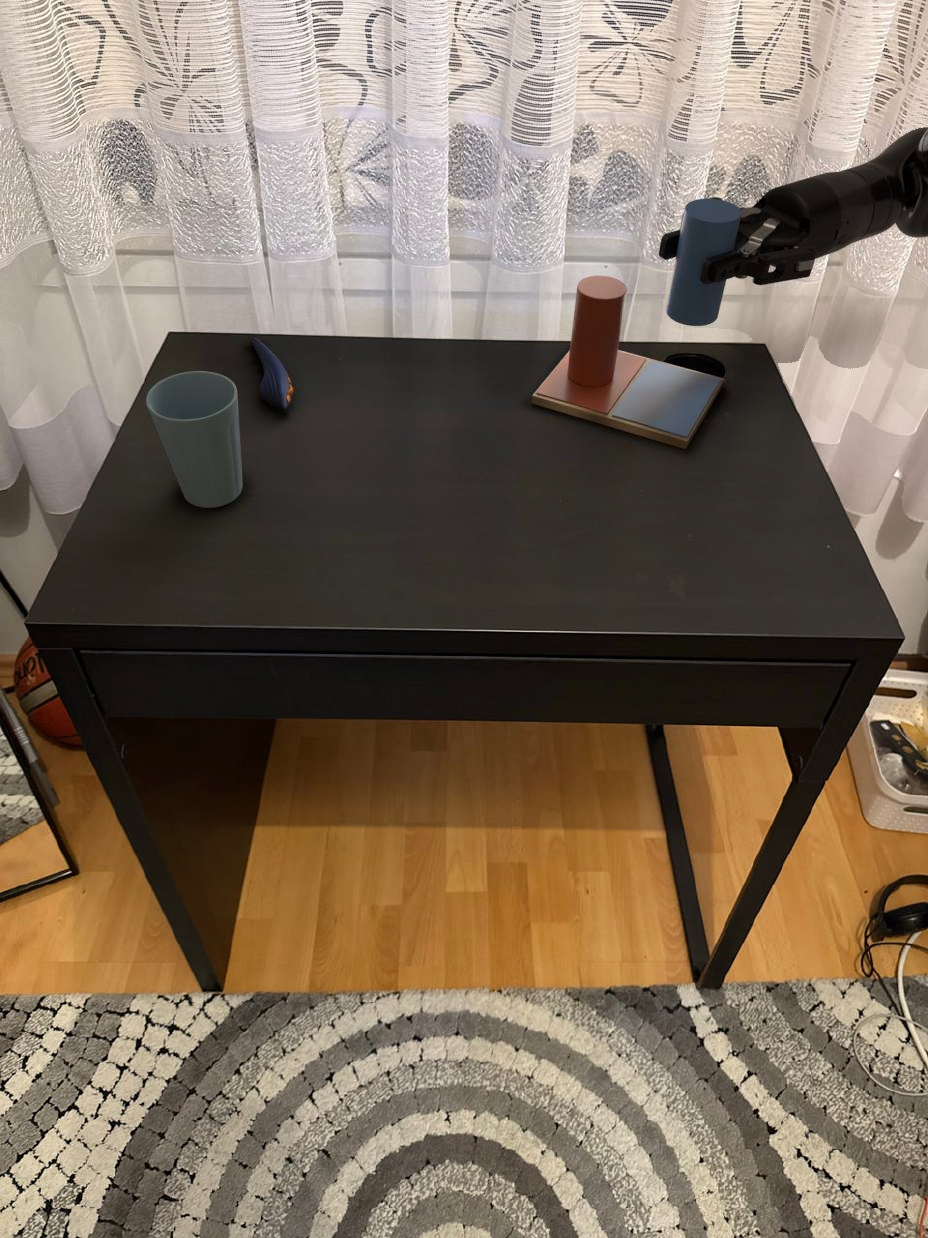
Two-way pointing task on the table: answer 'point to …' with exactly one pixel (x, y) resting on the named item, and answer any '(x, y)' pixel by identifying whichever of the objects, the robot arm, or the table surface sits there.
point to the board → (636, 398)
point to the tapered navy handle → (273, 377)
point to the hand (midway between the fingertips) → (683, 260)
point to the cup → (200, 434)
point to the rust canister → (596, 330)
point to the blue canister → (701, 260)
